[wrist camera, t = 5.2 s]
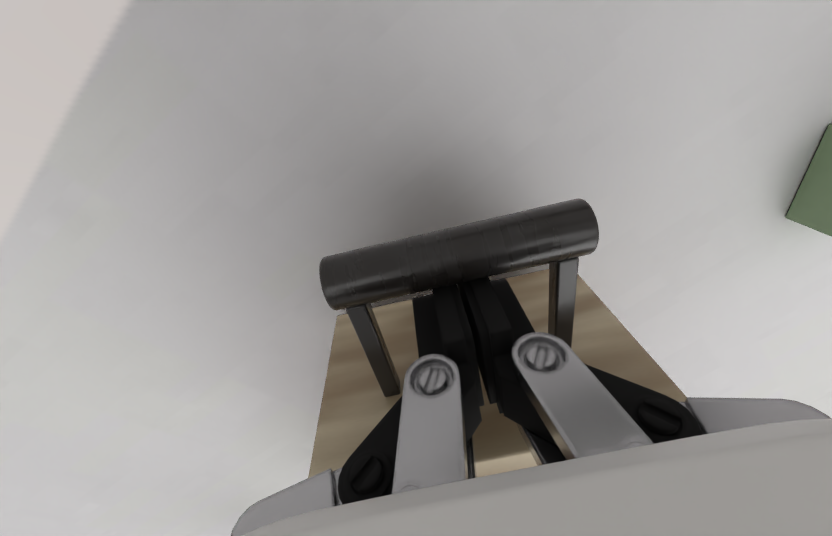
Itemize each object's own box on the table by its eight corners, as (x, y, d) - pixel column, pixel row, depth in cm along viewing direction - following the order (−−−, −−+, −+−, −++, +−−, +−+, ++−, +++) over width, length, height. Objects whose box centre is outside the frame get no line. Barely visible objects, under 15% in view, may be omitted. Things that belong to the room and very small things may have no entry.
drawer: (285, 207, 13) (183, 368, 6) (577, 138, 12) (801, 233, 6) (401, 452, 23) (408, 605, 17) (559, 420, 23) (630, 567, 16)
